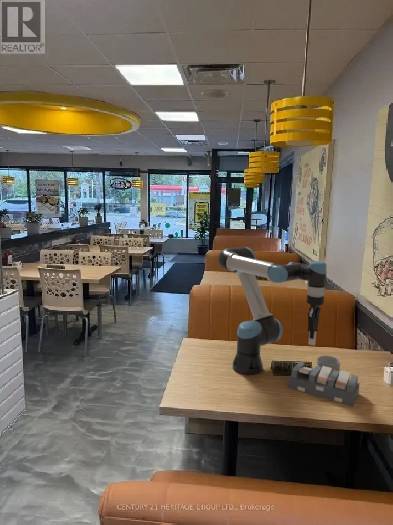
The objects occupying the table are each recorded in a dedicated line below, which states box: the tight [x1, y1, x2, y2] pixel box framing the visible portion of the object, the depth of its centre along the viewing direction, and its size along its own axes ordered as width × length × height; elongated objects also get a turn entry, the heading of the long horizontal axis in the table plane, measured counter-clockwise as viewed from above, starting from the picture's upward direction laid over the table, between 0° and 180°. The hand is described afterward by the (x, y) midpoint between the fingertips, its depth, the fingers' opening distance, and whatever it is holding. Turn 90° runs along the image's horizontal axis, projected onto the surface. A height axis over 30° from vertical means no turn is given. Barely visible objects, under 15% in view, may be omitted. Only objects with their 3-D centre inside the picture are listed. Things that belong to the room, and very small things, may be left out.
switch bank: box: [287, 361, 360, 407], centre depth 172 cm, size 28×13×8 cm, turn 58°
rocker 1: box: [299, 366, 314, 374], centre depth 175 cm, size 4×10×2 cm, turn 148°
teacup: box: [316, 354, 341, 375], centre depth 190 cm, size 14×11×8 cm
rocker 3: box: [335, 370, 351, 390], centre depth 167 cm, size 4×10×2 cm, turn 148°
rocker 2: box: [317, 366, 332, 385], centre depth 171 cm, size 4×10×2 cm, turn 148°
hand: (311, 344), depth 178 cm, fingers closed
